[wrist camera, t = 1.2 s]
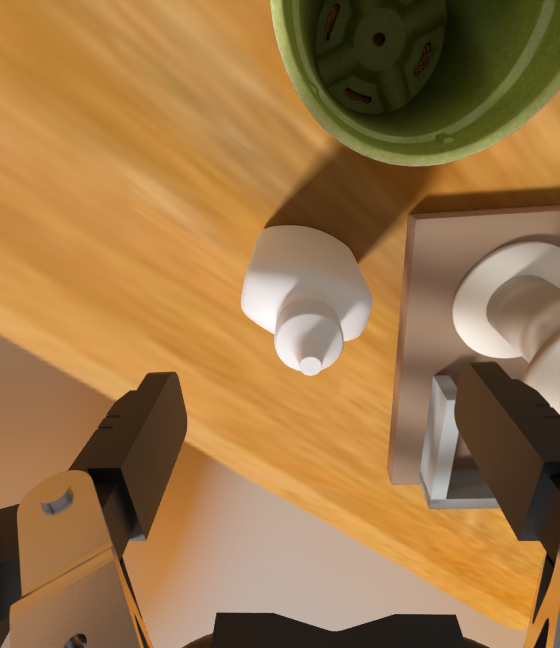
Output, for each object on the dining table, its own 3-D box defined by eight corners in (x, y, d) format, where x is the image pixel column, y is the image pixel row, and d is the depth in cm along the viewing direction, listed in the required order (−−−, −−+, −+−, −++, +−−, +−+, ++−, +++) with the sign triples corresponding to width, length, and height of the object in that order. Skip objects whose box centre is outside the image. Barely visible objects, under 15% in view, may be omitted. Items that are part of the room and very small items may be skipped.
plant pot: (525, -51, 16) (737, -218, 8) (425, 175, 20) (506, 203, 13) (317, -135, 15) (340, -409, 7) (257, 120, 19) (233, 113, 12)
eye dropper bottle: (311, 308, 24) (324, 449, 13) (243, 249, 22) (197, 357, 12) (362, 259, 22) (424, 375, 12) (293, 193, 21) (292, 257, 10)
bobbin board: (408, 214, 21) (486, 270, 13) (633, 199, 20) (881, 249, 12) (387, 469, 30) (424, 604, 22) (543, 465, 30) (646, 604, 21)
